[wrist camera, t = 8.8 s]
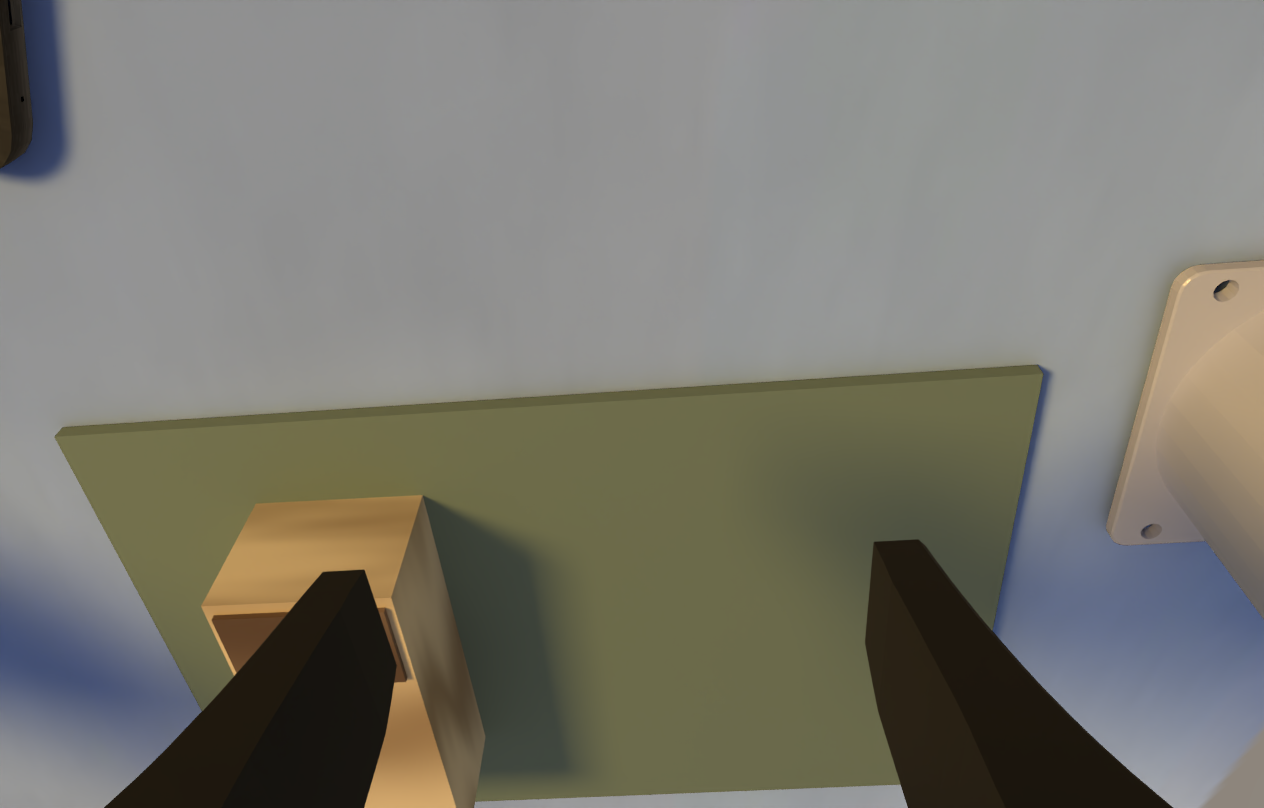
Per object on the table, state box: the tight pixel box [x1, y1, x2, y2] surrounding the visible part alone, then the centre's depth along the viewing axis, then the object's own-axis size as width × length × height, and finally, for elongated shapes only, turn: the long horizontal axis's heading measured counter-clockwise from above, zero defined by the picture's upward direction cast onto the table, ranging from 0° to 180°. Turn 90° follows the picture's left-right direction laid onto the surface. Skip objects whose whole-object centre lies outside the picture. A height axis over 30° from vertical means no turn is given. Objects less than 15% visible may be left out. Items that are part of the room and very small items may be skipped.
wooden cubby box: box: [201, 495, 485, 808], centre depth 25 cm, size 10×4×4 cm, turn 4°
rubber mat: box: [55, 365, 1043, 802], centre depth 27 cm, size 24×16×1 cm, turn 95°
